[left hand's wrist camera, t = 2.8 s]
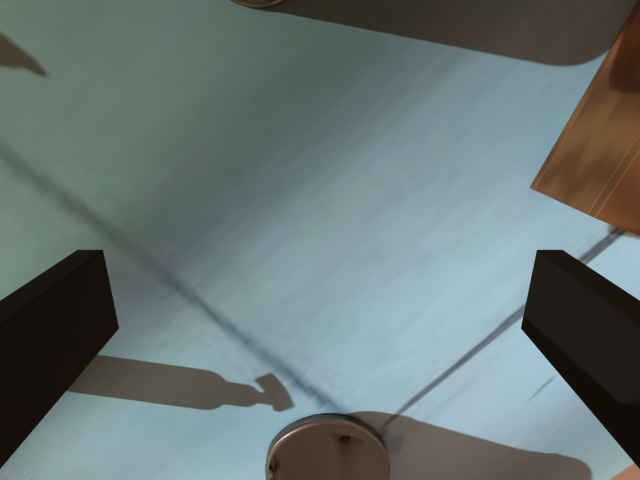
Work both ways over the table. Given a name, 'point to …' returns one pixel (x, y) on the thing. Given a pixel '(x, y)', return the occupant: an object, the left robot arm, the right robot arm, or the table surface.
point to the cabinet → (603, 141)
